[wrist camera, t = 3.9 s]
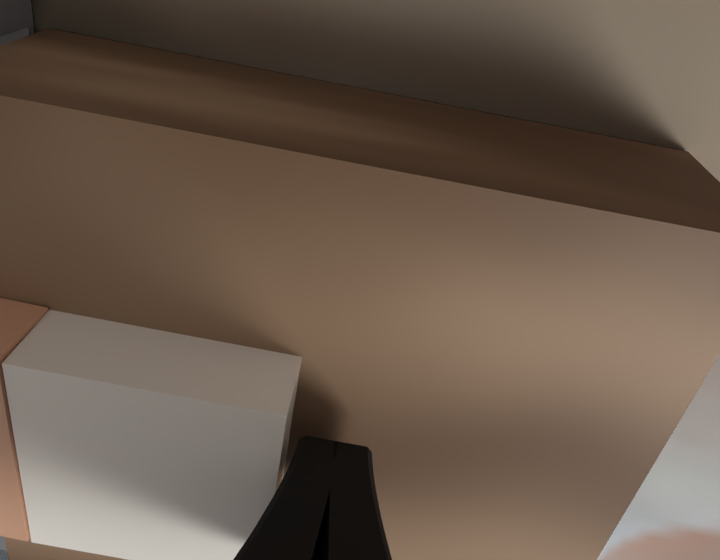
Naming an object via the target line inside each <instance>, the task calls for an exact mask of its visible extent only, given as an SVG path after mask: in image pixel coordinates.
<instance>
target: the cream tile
mask: <svg viewBox="0 0 720 560" xmlns="http://www.w3.org/2000/svg"><path fill="white" fill-rule="evenodd" d="M301 359H302V357H301V356H295V355H290V354H285V353H279V352H274V351H269V350H263V349H258V348H252V347H247V346H242V345H236V344H231V343H226V342H220V341H215V340H210V339H204V338H199V337H193V336H188V335H183V334H177V333H172V332H167V331H161V330H156V329H151V328H145V327H140V326H135V325H129V324H124V323H118V322H113V321H108V320H102V319H97V318H92V317H86V316H81V315H76V314H70V313H65V312H60V311H54V310H49V311H48V312H47V313H46V314H45V315H44V317H43V318H42V319H41V320H40V321H39V322H38V323H37V324H36V326H35V327H34V328H33V329H32V330H31V331H30V332H29V333H28V334H27V336H26V337H25V338H24V339H23V340H22V341H21V342H20V343H19V345H18V346H17V347H16V348H15V349H14V350H13V351H12V352H11V354H10V355H9V356H8V357H7V358H6V359H5V360H4V361H3V363H2V368H3V374H4V380H5V386H6V392H7V398H8V404H9V410H10V416H11V422H12V428H13V434H14V440H15V446H16V453H17V459H18V465H19V471H20V477H21V483H22V489H23V495H24V501H25V507H26V513H27V519H28V525H29V531H30V537H31V542H32V543H38V544H44V545H49V546H55V547H60V548H66V549H71V550H77V551H83V552H88V553H94V554H99V555H105V556H110V557H116V558H122V559H127V560H233V559H234V558H235V556H236V555H237V553H238V552H239V550H240V549H241V547H242V546H243V545H244V543H245V542H246V540H247V539H248V537H249V536H250V534H251V533H252V531H253V530H254V528H255V526H256V525H257V523H258V521H259V520H260V518H261V516H262V515H263V513H264V511H265V510H266V508H267V506H268V505H269V503H270V501H271V500H272V498H273V496H274V494H275V492H276V491H277V489H278V487H279V485H280V483H281V481H282V479H283V474H284V468H285V461H286V455H287V448H288V442H289V436H290V429H291V423H292V416H293V410H294V404H295V397H296V391H297V384H298V378H299V372H300V365H301Z"/></svg>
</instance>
